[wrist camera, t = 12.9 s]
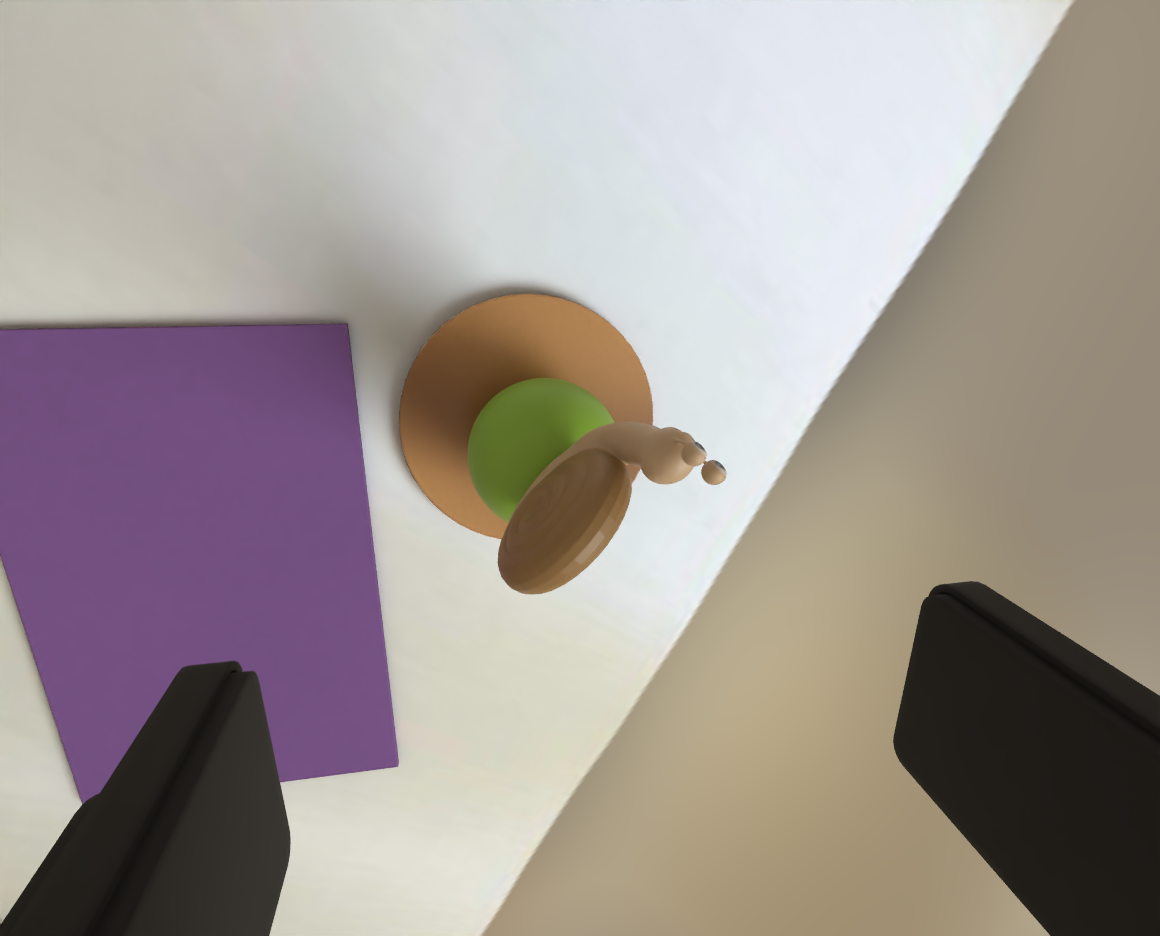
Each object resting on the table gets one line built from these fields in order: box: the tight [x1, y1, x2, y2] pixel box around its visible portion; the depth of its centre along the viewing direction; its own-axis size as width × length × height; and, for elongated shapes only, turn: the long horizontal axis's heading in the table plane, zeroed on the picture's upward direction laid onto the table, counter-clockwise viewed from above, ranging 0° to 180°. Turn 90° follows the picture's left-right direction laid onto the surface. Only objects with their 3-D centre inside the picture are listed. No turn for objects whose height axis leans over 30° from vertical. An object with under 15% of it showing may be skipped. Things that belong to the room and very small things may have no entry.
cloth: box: [0, 324, 399, 805], centre depth 25 cm, size 20×13×1 cm, turn 0°
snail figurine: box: [467, 378, 726, 594], centre depth 19 cm, size 5×6×12 cm
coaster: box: [399, 293, 653, 539], centre depth 25 cm, size 10×10×1 cm
